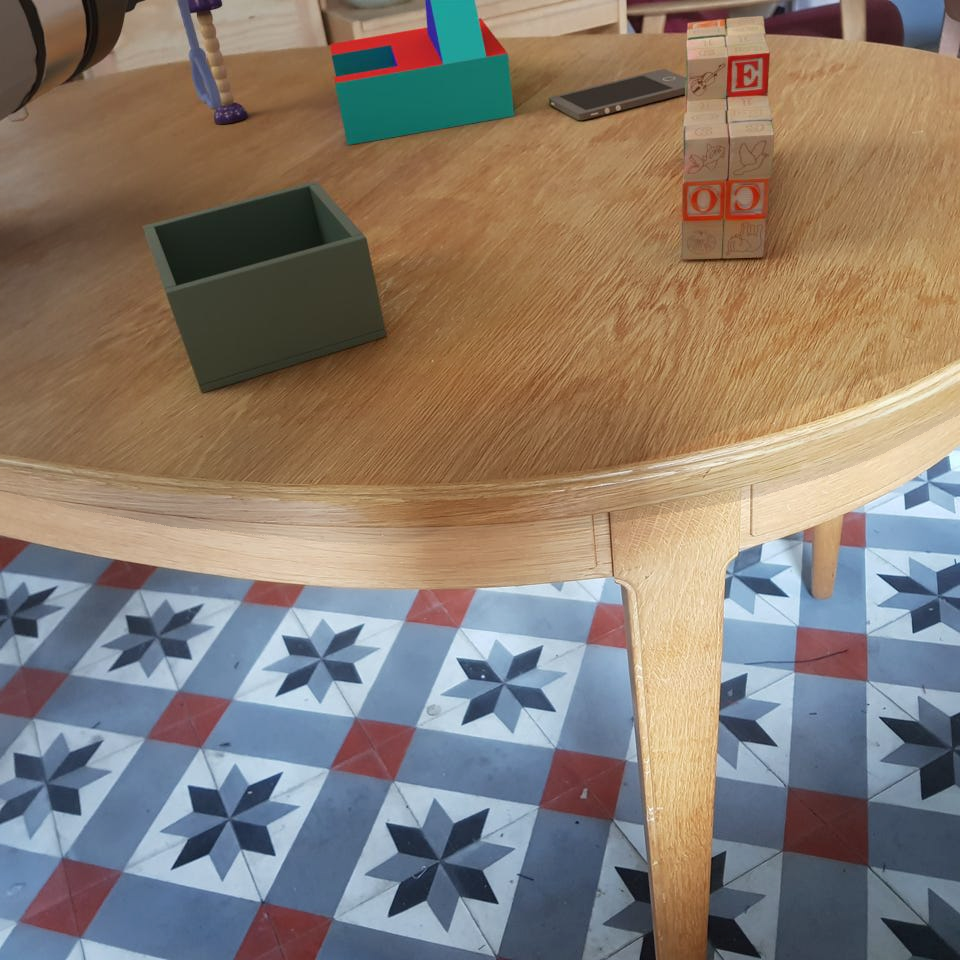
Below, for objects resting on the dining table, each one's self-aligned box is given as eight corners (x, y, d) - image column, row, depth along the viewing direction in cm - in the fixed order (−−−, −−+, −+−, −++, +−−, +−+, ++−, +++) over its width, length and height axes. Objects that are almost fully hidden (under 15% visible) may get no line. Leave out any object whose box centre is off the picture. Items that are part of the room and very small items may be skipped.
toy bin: (174, 316, 75) (142, 225, 71) (336, 269, 79) (316, 180, 74) (201, 393, 65) (165, 293, 60) (387, 336, 68) (366, 237, 64)
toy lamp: (215, 116, 121) (174, -29, 111) (251, 109, 121) (213, -36, 111) (214, 126, 117) (171, -23, 107) (251, 120, 118) (211, -29, 108)
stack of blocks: (766, 260, 70) (777, 88, 63) (680, 262, 72) (681, 95, 64) (756, 158, 87) (764, 12, 79) (686, 161, 88) (687, 18, 81)
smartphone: (579, 121, 101) (578, 114, 100) (547, 104, 107) (546, 97, 107) (701, 89, 104) (701, 83, 104) (663, 74, 110) (663, 68, 110)
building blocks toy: (480, 63, 126) (461, -96, 115) (514, 115, 106) (495, -71, 95) (339, 87, 125) (307, -71, 114) (347, 145, 105) (309, -40, 94)
